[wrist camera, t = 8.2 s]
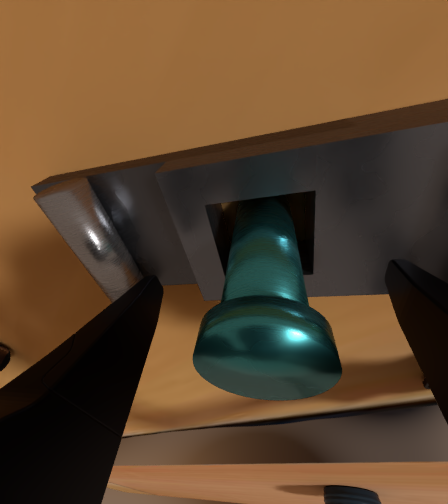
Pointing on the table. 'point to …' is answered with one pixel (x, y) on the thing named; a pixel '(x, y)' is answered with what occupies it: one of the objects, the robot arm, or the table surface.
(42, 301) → the table surface
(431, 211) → the plate
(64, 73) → the table surface
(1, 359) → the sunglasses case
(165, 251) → the lower chain end
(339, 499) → the canister
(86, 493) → the robot arm
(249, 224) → the pin
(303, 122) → the table surface
